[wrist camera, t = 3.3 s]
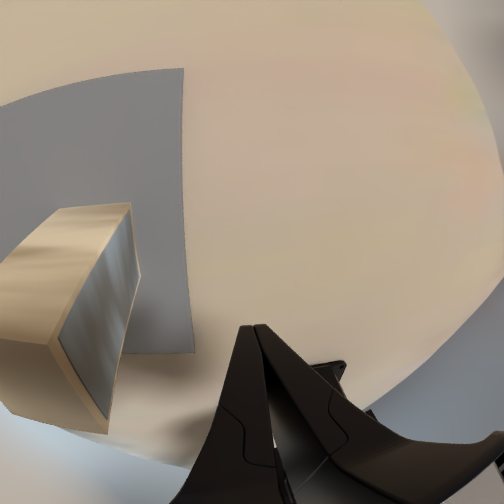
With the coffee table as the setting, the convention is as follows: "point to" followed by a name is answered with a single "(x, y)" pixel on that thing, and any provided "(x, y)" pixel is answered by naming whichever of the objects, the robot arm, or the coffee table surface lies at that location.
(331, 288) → the coffee table surface
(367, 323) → the coffee table surface
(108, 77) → the mat
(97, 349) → the birch block
